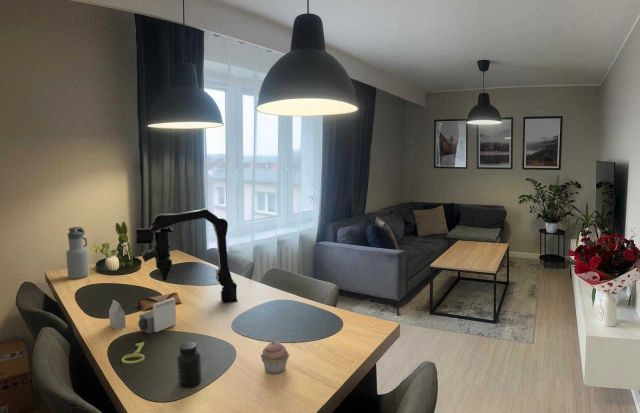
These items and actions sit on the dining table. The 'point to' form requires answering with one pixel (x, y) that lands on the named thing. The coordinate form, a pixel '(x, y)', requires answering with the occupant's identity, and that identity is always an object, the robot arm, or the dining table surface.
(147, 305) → the sunglasses case
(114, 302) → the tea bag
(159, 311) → the side door
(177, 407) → the dining table surface
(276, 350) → the cupcake
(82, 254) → the water bottle
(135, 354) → the key
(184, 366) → the supplement bottle
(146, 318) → the grey rectangular block
